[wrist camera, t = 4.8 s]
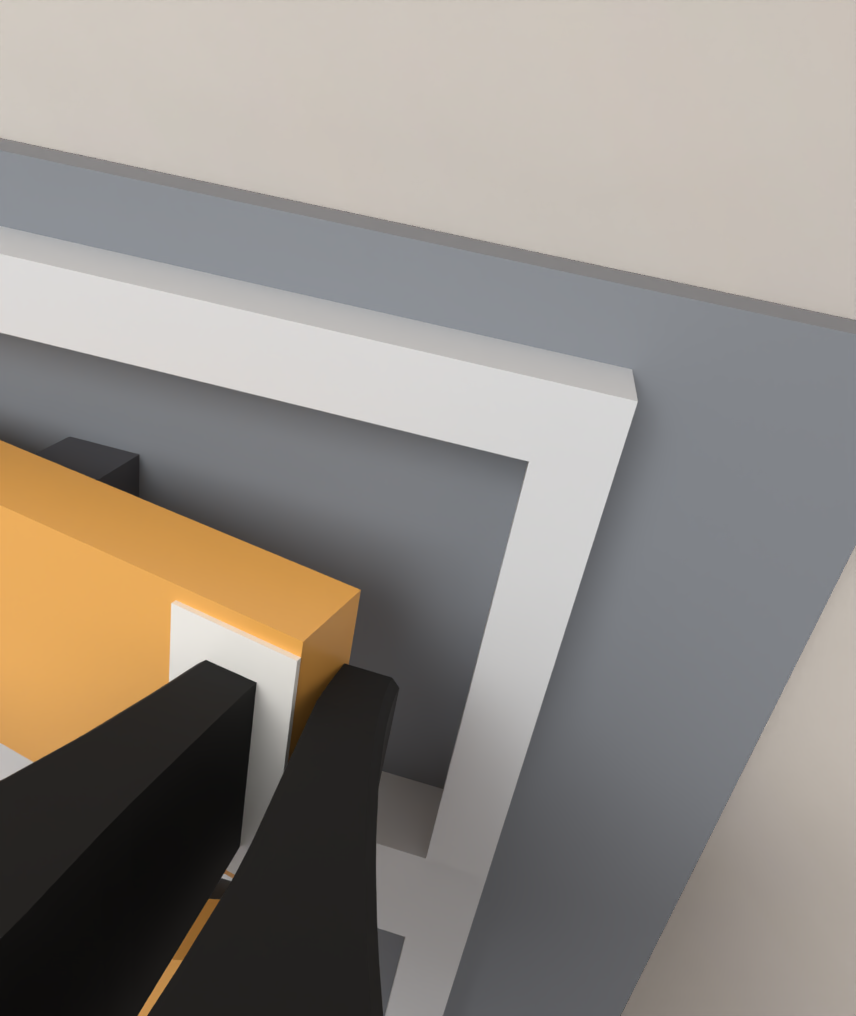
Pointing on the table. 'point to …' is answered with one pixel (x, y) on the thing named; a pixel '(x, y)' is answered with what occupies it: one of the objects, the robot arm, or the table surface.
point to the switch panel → (464, 527)
